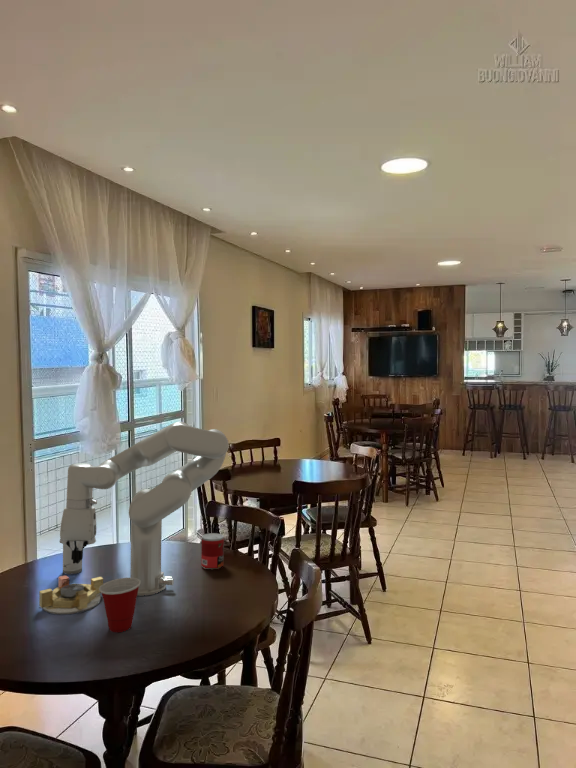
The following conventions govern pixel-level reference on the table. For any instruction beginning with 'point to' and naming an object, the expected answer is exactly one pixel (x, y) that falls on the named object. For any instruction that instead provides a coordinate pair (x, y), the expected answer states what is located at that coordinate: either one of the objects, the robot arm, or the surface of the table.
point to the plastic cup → (120, 602)
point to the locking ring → (79, 601)
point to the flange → (70, 592)
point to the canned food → (212, 550)
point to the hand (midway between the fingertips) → (76, 561)
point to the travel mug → (70, 561)
